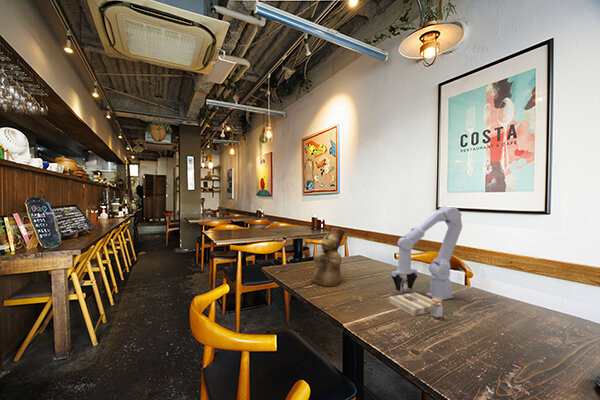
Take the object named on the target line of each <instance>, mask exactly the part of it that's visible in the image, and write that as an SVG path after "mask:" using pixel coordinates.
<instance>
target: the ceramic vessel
mask: <svg viewBox="0 0 600 400" xmlns="http://www.w3.org/2000/svg"><path fill="white" fill-rule="evenodd" d="M344 235H345V229H342V228H338V227H332V228H331V231H330V234H329V233H326V235H325V236H324V237H323V238H322V240H321V244H320V245H321V250H320V251H317V252H316V253H315V254H314V255H313V262H314V264H315V265H317V268H316V269H315V271H314V272H313V274H312V279H311V280H312V282H313V283H314V284H317V285H319V286H324V287H329V288H330V287H332V286H333V287H335V286H338V285H339V283H340V281H341V279H342V272H341V265H342V256H341V254H340V253H339V252H338V250H339V248H340V245H341V243H342V240H343V239H344Z"/></svg>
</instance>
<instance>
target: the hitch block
mask: <svg viewBox="0 0 600 400" xmlns="http://www.w3.org/2000/svg"><path fill="white" fill-rule="evenodd" d="M388 303H389V304H391V305H393V306H394V307H396V308H398V309H399V310H402V311H403V312H406V313H407V314H409V315H411V316H413V317H417V316H420V315H424V314H425V315H426V314H430V311H431V304H435V302H433V301H432V298H429V297H427V296H424V295H422V294H420V293H418V292H410V293H408V294H403V295H401V294H398V295H392V296H389V297H388ZM438 304H439V305H441V306H443V305H442V303H438Z"/></svg>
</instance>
